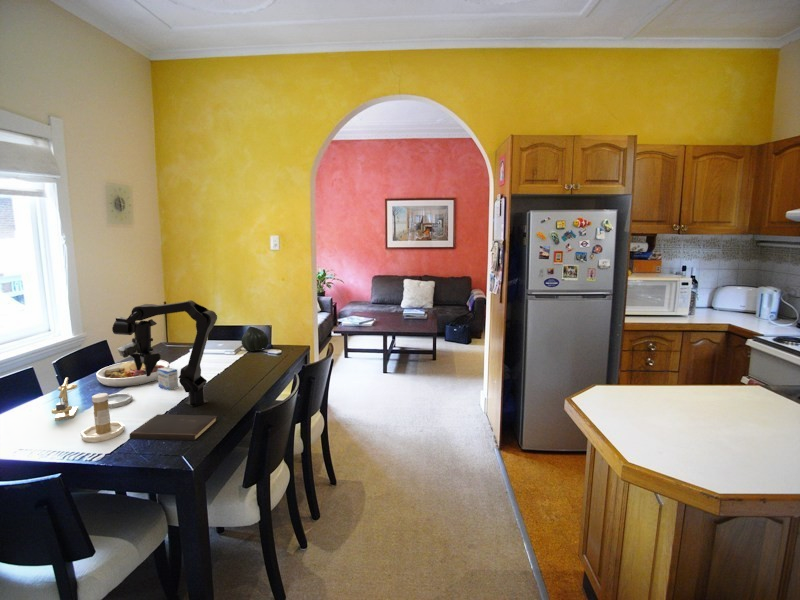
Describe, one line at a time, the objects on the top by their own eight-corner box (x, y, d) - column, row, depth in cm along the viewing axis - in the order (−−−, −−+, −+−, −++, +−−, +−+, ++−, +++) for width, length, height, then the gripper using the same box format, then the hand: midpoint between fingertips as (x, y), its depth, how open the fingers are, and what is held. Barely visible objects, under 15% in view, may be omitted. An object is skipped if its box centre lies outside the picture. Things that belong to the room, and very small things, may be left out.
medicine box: (158, 387, 196) (156, 369, 195) (167, 384, 200) (166, 366, 199) (169, 390, 193) (168, 371, 191) (178, 387, 197) (177, 369, 195)
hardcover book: (158, 419, 164) (157, 414, 163) (217, 421, 163) (216, 415, 162) (129, 440, 148) (129, 433, 148) (195, 441, 147) (194, 435, 146)
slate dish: (136, 402, 179) (135, 398, 179) (102, 411, 170) (101, 406, 170) (125, 395, 187) (125, 391, 187) (93, 403, 178) (92, 399, 178)
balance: (62, 407, 173) (59, 376, 171) (81, 405, 176) (77, 373, 174) (51, 426, 157) (46, 391, 155) (71, 422, 160) (67, 388, 158)
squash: (271, 343, 253) (265, 321, 260) (244, 347, 246) (239, 325, 253) (268, 354, 264) (263, 333, 271) (242, 358, 257) (238, 337, 263)
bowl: (81, 384, 200) (79, 368, 199) (139, 365, 228) (138, 351, 227) (129, 392, 191) (127, 375, 189) (183, 372, 219) (182, 357, 217)
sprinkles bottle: (96, 430, 152) (92, 394, 150) (111, 427, 154) (108, 391, 152) (95, 435, 148) (91, 398, 146) (111, 432, 150) (107, 395, 148)
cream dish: (128, 433, 152) (128, 428, 151) (88, 445, 143) (87, 440, 142) (117, 423, 159) (116, 418, 159) (77, 434, 150) (77, 429, 150)
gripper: (111, 333, 173) (112, 371, 175) (129, 343, 161) (130, 383, 164) (141, 330, 181) (142, 366, 184) (161, 339, 170) (161, 377, 172)
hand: (143, 373), depth 176 cm, fingers open, 9 cm apart
